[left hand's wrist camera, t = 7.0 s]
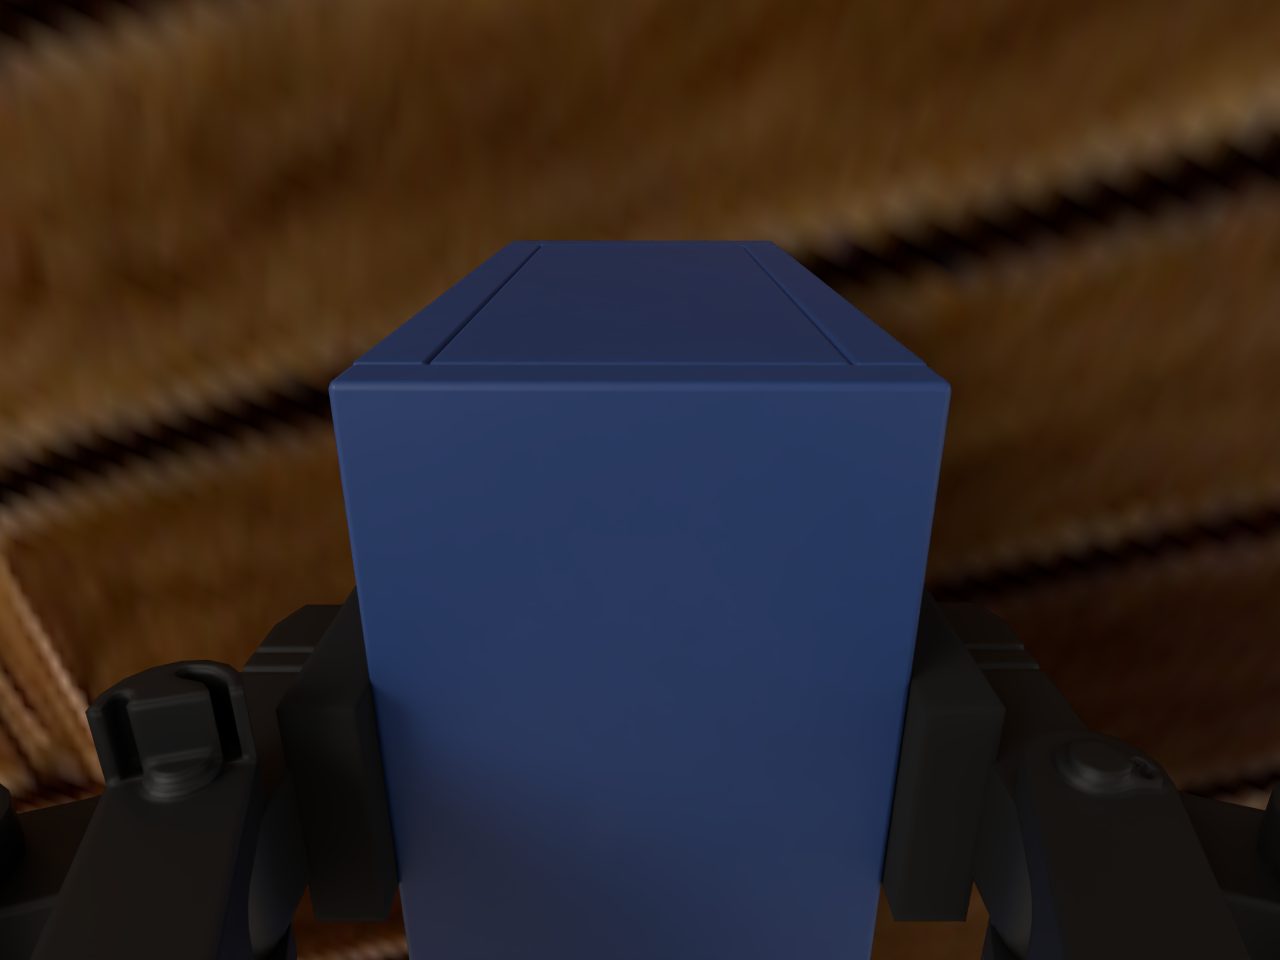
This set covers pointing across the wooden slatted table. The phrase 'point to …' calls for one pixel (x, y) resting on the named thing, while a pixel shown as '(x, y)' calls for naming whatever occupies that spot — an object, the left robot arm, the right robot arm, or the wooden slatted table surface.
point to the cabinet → (640, 601)
